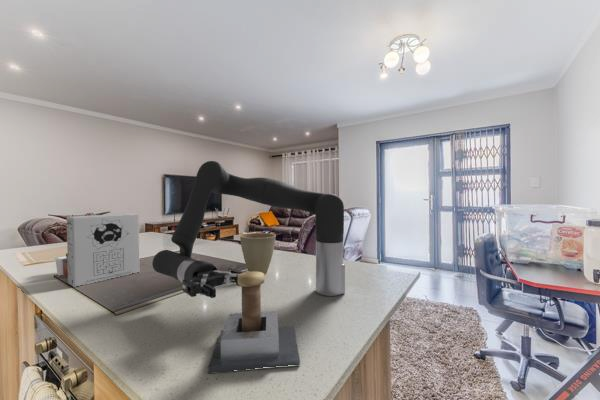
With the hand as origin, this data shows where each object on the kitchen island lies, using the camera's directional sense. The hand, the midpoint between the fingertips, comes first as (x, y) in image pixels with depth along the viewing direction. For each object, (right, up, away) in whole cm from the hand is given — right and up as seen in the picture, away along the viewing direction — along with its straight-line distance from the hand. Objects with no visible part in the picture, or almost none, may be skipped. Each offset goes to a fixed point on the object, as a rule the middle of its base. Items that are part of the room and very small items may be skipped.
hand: (231, 288), depth 60 cm
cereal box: (-61, -11, +43) cm, 75 cm away
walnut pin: (+6, -10, -5) cm, 12 cm away
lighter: (-77, -11, +46) cm, 90 cm away
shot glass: (-82, -11, +48) cm, 96 cm away
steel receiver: (+7, -11, -5) cm, 14 cm away
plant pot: (-2, -10, +49) cm, 50 cm away
